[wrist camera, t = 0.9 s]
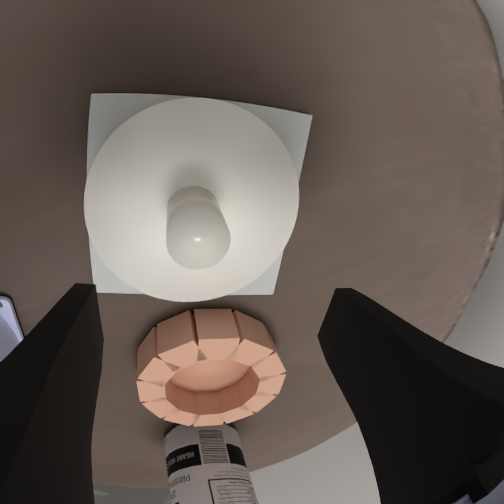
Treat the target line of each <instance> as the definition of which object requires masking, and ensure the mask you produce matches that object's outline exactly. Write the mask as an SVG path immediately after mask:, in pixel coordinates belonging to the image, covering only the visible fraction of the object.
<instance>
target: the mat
mask: <svg viewBox="0 0 504 504" xmlns="http://www.w3.org/2000/svg"><path fill="white" fill-rule="evenodd" d="M181 98H200V97H189V96H177V95H160V94H132V93H101V94H91V101H90V112H89V126H88V144H87V177H88V174H89V171H90V168H91V165H92V163H93V161H94V159H95V157H96V155H97V153H98V151H99V150H100V149H101V147H102V146H103V144H104V143H105V141H106V140H107V139H108V138H109V137H110V135H111V134H112V133H113V132H114V131H115V130H116V129H117V128H118V127H119V126H121V125H122V124H123V123H124V122H125V121H127V120H128V119H129V118H131V117H132V116H134V115H136V114H137V113H139V112H141V111H142V110H144V109H147V108H149V107H151V106H154V105H156V104H159V103H162V102H166V101H170V100H174V99H181ZM209 99H210V98H209ZM215 100H219V99H215ZM221 101H225V102H228V103H231V104H234V105H237V106H239V107H241V108H243V109H245V110H247V111H249V112H251V113H252V114H254V115H255V116H257V117H258V118H259V119H261V120H262V121H264V122H265V123H266V124H267V125H268V126H269V127H270V128H271V129H272V130H273V131H274V132H275V133H276V134H277V136H278V137H279V138H280V139H281V141H282V142H283V144H284V145H285V147H286V149H287V151H288V152H289V154H290V156H291V159H292V161H293V164H294V166H295V170H296V174H297V178H298V183H299V179H300V174H301V169H302V165H303V160H304V155H305V150H306V145H307V141H308V136H309V131H310V126H311V121H312V115H308V114H303V113H298V112H294V111H289V110H283V109H278V108H273V107H267V106H261V105H255V104H248V103H242V102H235V101H227V100H221ZM89 244H90V256H91V266H92V274H93V283H94V284H96V291H97V292H101V293H129V294H145V293H142V292H140V291H138V290H136V289H134V288H133V287H131V286H129V285H128V284H126V283H125V282H123V281H122V280H121V279H120V278H118V277H117V276H116V275H115V274H114V273H113V272H112V271H111V270H110V269H109V268H108V267H107V266H106V264H105V263H104V262H103V261H102V259H101V258H100V256H99V255H98V253H97V251H96V250H95V248H94V246H93V244H92V241H91V239H90V236H89ZM283 250H284V249H283ZM282 255H283V251H282V252H281V254H280V255H279V256H278V258H277V259H276V260H275V262H274V263H273V264H272V265H271V266H270V267H269V268H268V269H267V270H266V271H265V272H264V273H263V274H261V275H260V276H259V277H258V278H257V279H255V280H254V281H252V282H251V283H249V284H248V285H246V286H244V287H243V288H241V289H239V290H237V291H235V292H232V293H230V294H227V295H269V294H273V293H274V288H275V284H276V280H277V276H278V272H279V268H280V263H281V259H282Z"/></svg>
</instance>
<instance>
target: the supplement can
mask: <svg viewBox="0 0 504 504" xmlns="http://www.w3.org/2000/svg"><path fill="white" fill-rule="evenodd" d="M164 446H165V455H166V463H167V471H168V479H169V486H170V493H171V499H172V504H258V501H257V498H256V495H255V492H254V488H253V485H252V482H251V478H250V475H249V471H248V468H247V464H246V461H245V457H244V454H243V450H242V447H241V443H240V439H239V436H238V433H237V432H236V430H235V429H234V428H232V427H230V426H228V425H227V424H224V423H223V425H212V426H195V427H194V426H193V424H192V425H191V426H186V425H182V424H181V425H178V426H177V427H175V428H174V429H172V430H171V432H170V433H168V434H167V435H166V437H165V439H164Z"/></svg>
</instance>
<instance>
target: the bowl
mask: <svg viewBox="0 0 504 504" xmlns="http://www.w3.org/2000/svg"><path fill="white" fill-rule="evenodd" d="M285 376H286V370H285V367H284V365H283V363H282V360H281V358H280V356H279V353H278V351H277V349H276V346H275V344H274V342H273V340H272V338H271V336H270V334H269V332H268V330H267V328H266V326H265V325H263V323H262V322H260V321H258V320H256V319H254V318H252V317H250V316H248V315H245V314H243V313H241V312H239V311H237V310H234V312H233V313H232V311H231V309H194V316H193V315H192V313H191V312H190V310H188V311H186V312H183V313H181V314H179V315H176V316H174V317H172V318H170V319H167V320H165V321H163V322H160V323H158V324H157V327H153V328H152V330H151V331H150V332H149V334H148V335H147V336H146V338H145V339H144V340H143V342H142V343H141V345H140V346H139V347H138V351H137V387H138V392H139V398H140V401H142V404H143V405H144V406H145V407H146V408H148V409H149V410H150V411H151V412H153V413H154V414H155V415H156V416H158V417H159V418H163V420H166V421H170V422H174V423H178V424H182V425H186V426H191V425H192V424H193V426H194V427H195V426H212V425H223V422H225V423H226V424H228V423H231V422H233V421H236V420H239V419H242V418H245V417H247V416H250V415H253V414H254V413H253V412H258V411H259V410H260V409H262V408H263V407H264V406H265V405H267V404H268V403H269V402H270V401H272V400H273V399H274V398H275V397H276V396H277V395H276V394H279V392H280V389H281V387H282V384H283V381H284V379H285Z"/></svg>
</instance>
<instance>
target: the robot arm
mask: <svg viewBox="0 0 504 504" xmlns="http://www.w3.org/2000/svg"><path fill="white" fill-rule="evenodd" d="M0 302H1V303H2V304H1V303H0V504H95V503H94V494H93V482H92V464H91V441H92V430H93V422H94V414H95V407H96V400H97V394H98V388H99V382H100V376H101V370H102V356H103V342H104V338H103V332H102V326H101V320H100V313H99V306H98V299H97V291H96V284H79V283H75V284H74V285H73V286H72V287H71V288H70V289H69V290H68V291H67V293H66V294H65V295H64V296H63V297H62V298H61V299H60V300H59V301H58V302H57V303H56V304H55V306H54V307H53V308H52V309H51V310H50V311H49V312H48V313H47V314H46V315H45V316H44V318H43V319H42V320H41V321H40V322H39V323H38V324H37V325H36V326H35V327H34V328H33V330H32V331H31V332H30V333H29V334H28V335H27V336H26V337H25V338H24V337H23V334H22V331H21V328H20V326H19V323H18V320H17V317H16V314H15V311H14V308H13V305H12V302H11V300H10V299H9V298H7V297H2V296H0ZM318 339H319V342H320V345H321V348H322V351H323V354H324V356H325V359H326V362H327V364H328V366H329V368H330V370H331V372H332V374H333V376H334V377H335V379H336V381H337V383H338V385H339V387H340V389H341V391H342V393H343V395H344V396H345V398H346V400H347V402H348V404H349V406H350V408H351V410H352V412H353V414H354V416H355V418H356V420H357V422H358V424H359V427H360V430H361V432H362V435H363V438H364V440H365V443H366V446H367V449H368V452H369V456H370V459H371V462H372V465H373V469H374V473H375V477H376V481H377V485H378V490H379V495H380V501H381V504H504V368H502V367H498V366H495V365H492V364H489V363H486V362H484V361H481V360H479V359H476V358H474V357H471V356H469V355H466V354H464V353H462V352H460V351H458V350H456V349H454V348H452V347H450V346H448V345H445V344H444V343H442V342H440V341H438V340H436V339H434V338H433V337H431V336H429V335H428V334H426V333H424V332H423V331H421V330H419V329H418V328H416V327H414V326H413V325H411V324H409V323H408V322H406V321H405V320H403V319H402V318H400V317H398V316H397V315H395V314H394V313H392V312H391V311H389V310H388V309H386V308H384V307H383V306H381V305H380V304H378V303H377V302H375V301H373V300H372V299H370V298H369V297H367V296H365V295H363V294H362V293H360V292H358V291H356V290H354V289H352V288H336V289H335V291H334V294H333V297H332V300H331V302H330V305H329V308H328V310H327V313H326V315H325V318H324V321H323V323H322V326H321V328H320V331H319V333H318Z"/></svg>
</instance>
